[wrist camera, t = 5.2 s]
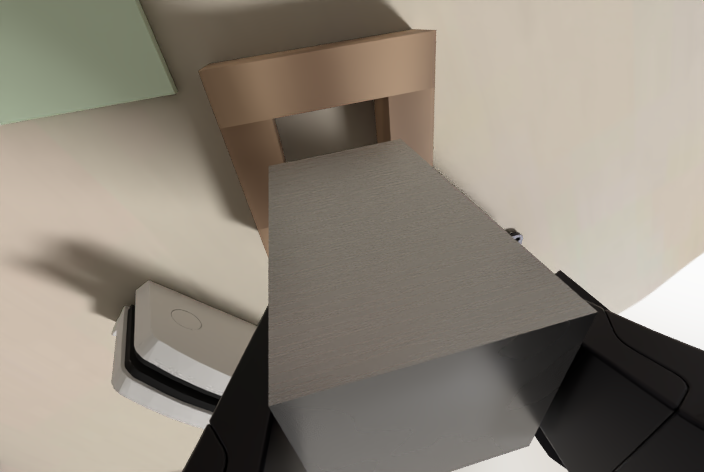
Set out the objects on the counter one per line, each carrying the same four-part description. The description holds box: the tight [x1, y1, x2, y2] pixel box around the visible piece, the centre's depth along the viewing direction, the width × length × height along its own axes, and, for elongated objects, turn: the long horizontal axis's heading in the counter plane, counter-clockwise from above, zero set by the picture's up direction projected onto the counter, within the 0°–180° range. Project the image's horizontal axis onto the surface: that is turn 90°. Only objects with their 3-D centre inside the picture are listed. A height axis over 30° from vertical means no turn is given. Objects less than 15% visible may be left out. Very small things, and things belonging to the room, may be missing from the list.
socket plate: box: [198, 29, 436, 258], centre depth 18 cm, size 11×11×3 cm
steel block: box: [269, 139, 598, 472], centre depth 9 cm, size 5×5×8 cm
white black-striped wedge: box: [112, 280, 257, 429], centre depth 24 cm, size 17×5×10 cm, turn 44°
